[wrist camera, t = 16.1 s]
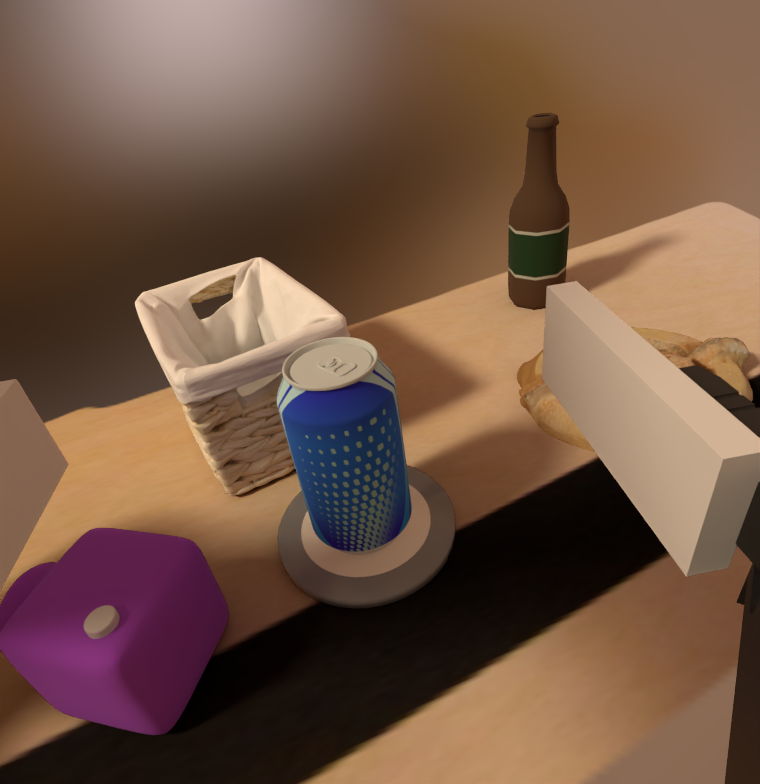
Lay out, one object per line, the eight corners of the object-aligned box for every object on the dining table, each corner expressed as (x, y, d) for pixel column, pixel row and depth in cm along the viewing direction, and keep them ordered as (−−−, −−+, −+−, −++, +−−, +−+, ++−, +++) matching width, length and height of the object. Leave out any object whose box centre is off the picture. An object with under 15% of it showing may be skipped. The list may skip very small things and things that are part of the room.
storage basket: (172, 399, 67) (126, 291, 59) (290, 355, 73) (263, 251, 65) (224, 516, 49) (169, 384, 41) (375, 445, 55) (353, 316, 47)
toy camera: (83, 597, 44) (22, 513, 38) (244, 592, 42) (204, 503, 36) (-1, 745, 35) (-98, 663, 29) (199, 745, 33) (137, 658, 28)
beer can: (316, 572, 41) (265, 406, 32) (312, 496, 48) (270, 342, 39) (422, 551, 42) (401, 381, 33) (403, 478, 49) (381, 322, 40)
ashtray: (818, 401, 52) (836, 357, 49) (655, 511, 44) (666, 466, 41) (616, 320, 70) (621, 285, 67) (473, 387, 62) (471, 350, 59)
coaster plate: (277, 626, 39) (274, 617, 38) (282, 485, 51) (279, 477, 51) (477, 587, 40) (477, 578, 39) (434, 456, 52) (433, 448, 51)
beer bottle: (510, 287, 81) (512, 112, 68) (564, 287, 79) (577, 106, 66) (505, 310, 75) (506, 124, 62) (563, 310, 73) (577, 117, 60)
